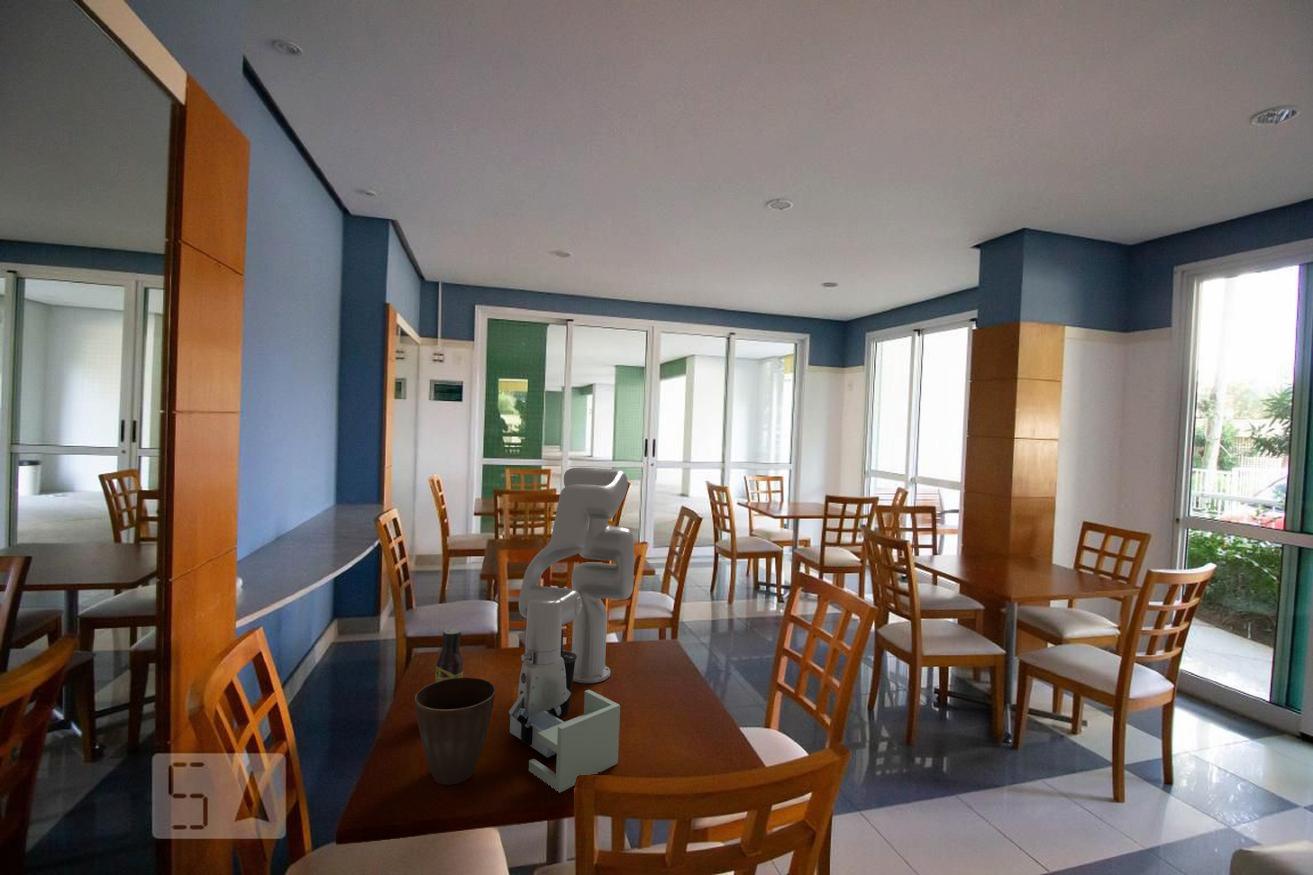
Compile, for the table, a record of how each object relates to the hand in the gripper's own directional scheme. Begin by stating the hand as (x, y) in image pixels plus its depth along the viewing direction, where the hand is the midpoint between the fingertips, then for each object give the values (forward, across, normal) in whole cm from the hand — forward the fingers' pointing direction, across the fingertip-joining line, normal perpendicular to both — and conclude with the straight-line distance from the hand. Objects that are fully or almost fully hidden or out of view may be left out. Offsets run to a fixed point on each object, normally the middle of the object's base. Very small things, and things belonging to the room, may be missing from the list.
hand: (539, 736), depth 127 cm
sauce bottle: (+2, -8, +26) cm, 27 cm away
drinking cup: (+2, +12, +9) cm, 15 cm away
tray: (+1, 0, 0) cm, 1 cm away
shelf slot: (+2, 0, -12) cm, 12 cm away
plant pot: (+2, -19, +2) cm, 19 cm away
